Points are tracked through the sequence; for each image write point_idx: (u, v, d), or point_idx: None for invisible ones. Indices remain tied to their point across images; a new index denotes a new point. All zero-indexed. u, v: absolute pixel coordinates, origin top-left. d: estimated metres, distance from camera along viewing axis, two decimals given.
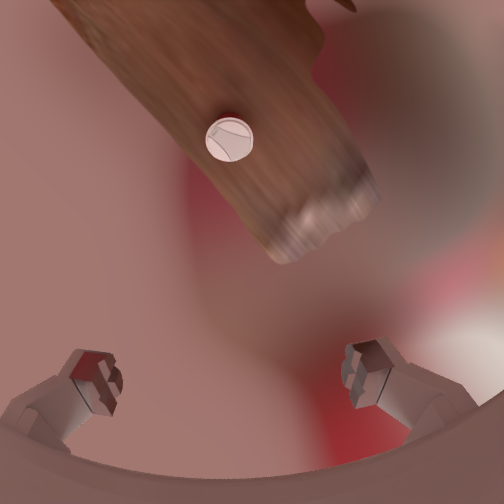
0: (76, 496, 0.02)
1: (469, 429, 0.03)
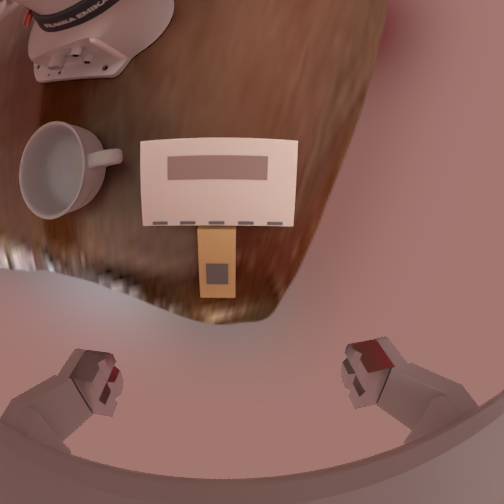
0: (76, 496, 0.02)
1: (469, 429, 0.03)
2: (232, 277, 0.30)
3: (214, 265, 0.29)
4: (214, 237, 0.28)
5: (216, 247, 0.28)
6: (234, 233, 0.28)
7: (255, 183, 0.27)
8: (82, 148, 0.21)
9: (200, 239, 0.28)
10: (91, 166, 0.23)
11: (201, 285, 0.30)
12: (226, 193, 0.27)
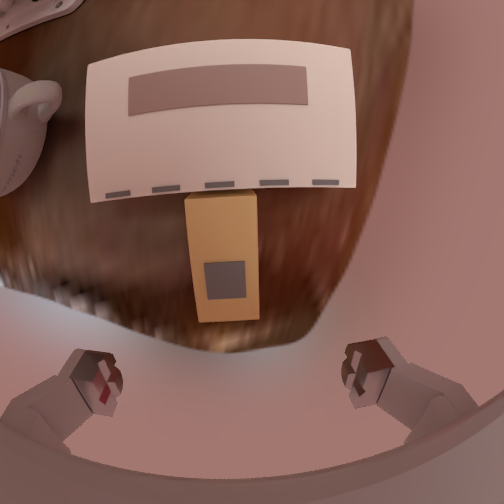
0: (76, 496, 0.02)
1: (469, 429, 0.03)
2: (252, 284, 0.17)
3: (219, 265, 0.16)
4: (216, 213, 0.15)
5: (221, 230, 0.15)
6: (254, 203, 0.15)
7: (288, 111, 0.13)
8: (2, 89, 0.08)
9: (191, 217, 0.15)
10: (12, 113, 0.09)
11: (198, 302, 0.17)
12: (235, 128, 0.13)
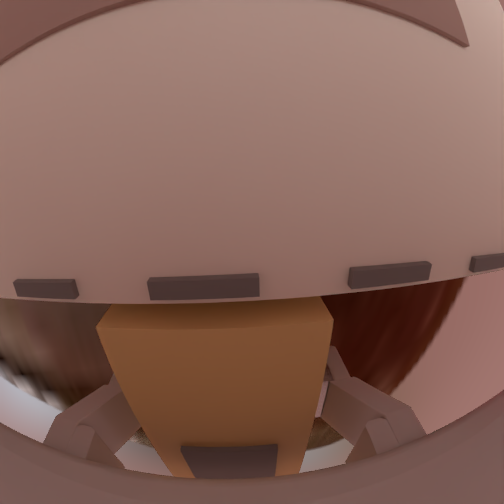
0: (76, 496, 0.02)
1: (469, 429, 0.03)
2: (289, 464, 0.06)
3: (218, 452, 0.05)
4: (200, 370, 0.04)
5: (218, 404, 0.05)
6: (322, 341, 0.04)
7: (431, 46, 0.03)
8: None
9: (127, 372, 0.04)
10: None
11: None
12: (263, 64, 0.03)
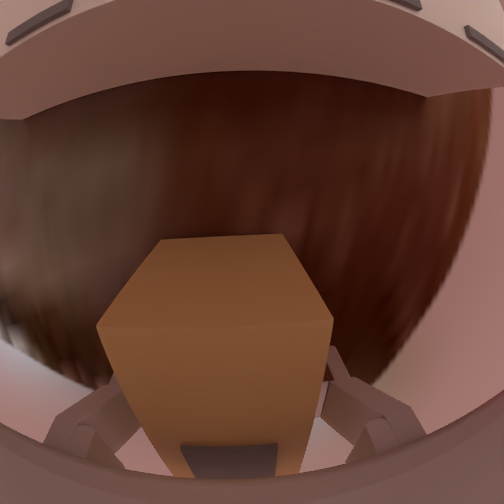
0: (76, 496, 0.02)
1: (469, 429, 0.03)
2: (289, 464, 0.06)
3: (218, 451, 0.05)
4: (200, 369, 0.04)
5: (217, 403, 0.05)
6: (322, 339, 0.04)
7: None
8: None
9: (127, 371, 0.04)
10: None
11: None
12: None
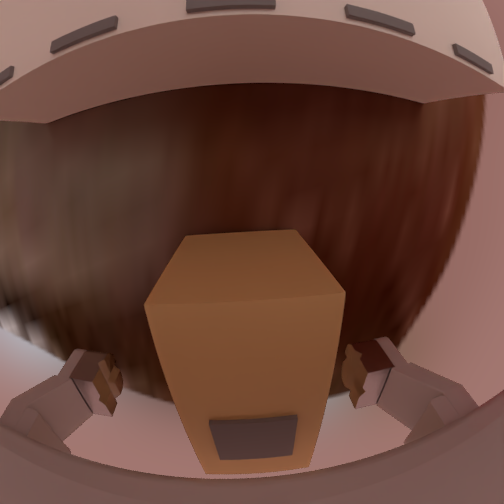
0: (76, 496, 0.02)
1: (469, 429, 0.03)
2: (306, 438, 0.07)
3: (243, 424, 0.06)
4: (235, 339, 0.05)
5: (247, 373, 0.06)
6: (336, 311, 0.05)
7: None
8: None
9: (168, 346, 0.05)
10: None
11: (203, 458, 0.07)
12: None
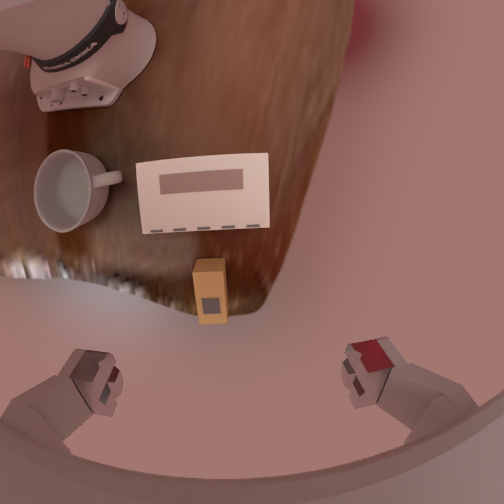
0: (76, 496, 0.02)
1: (469, 429, 0.03)
2: (223, 307, 0.36)
3: (208, 299, 0.36)
4: (206, 278, 0.35)
5: (208, 285, 0.35)
6: (222, 274, 0.35)
7: (234, 193, 0.31)
8: (87, 172, 0.27)
9: (195, 279, 0.35)
10: (96, 186, 0.28)
11: (199, 315, 0.36)
12: (209, 202, 0.32)
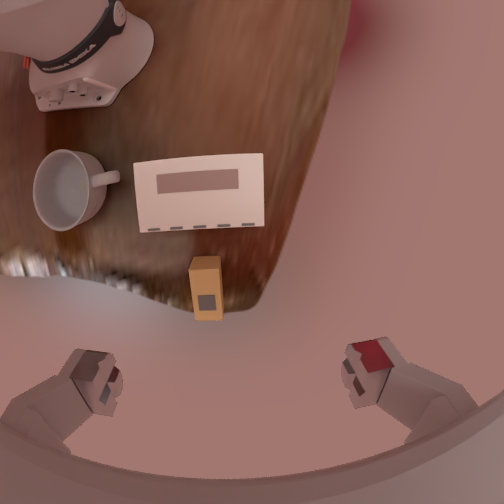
0: (76, 496, 0.02)
1: (469, 429, 0.03)
2: (219, 304, 0.37)
3: (204, 296, 0.36)
4: (202, 275, 0.35)
5: (204, 282, 0.36)
6: (217, 271, 0.35)
7: (229, 192, 0.32)
8: (86, 172, 0.27)
9: (191, 277, 0.35)
10: (94, 186, 0.28)
11: (195, 311, 0.37)
12: (205, 201, 0.32)
